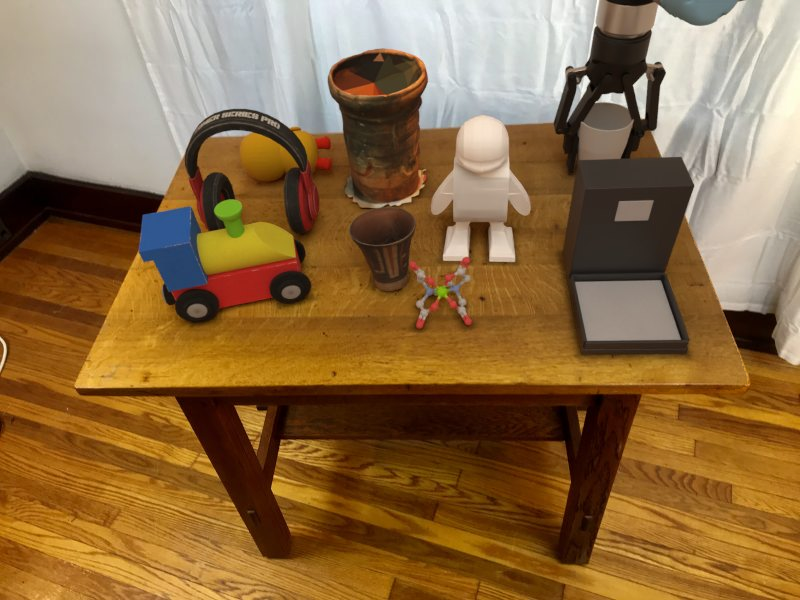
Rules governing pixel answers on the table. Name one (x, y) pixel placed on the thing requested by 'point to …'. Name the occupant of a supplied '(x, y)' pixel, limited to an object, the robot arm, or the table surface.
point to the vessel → (381, 124)
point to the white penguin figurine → (481, 190)
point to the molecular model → (442, 291)
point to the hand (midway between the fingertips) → (596, 167)
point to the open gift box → (626, 254)
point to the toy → (280, 155)
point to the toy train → (221, 261)
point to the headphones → (218, 187)
